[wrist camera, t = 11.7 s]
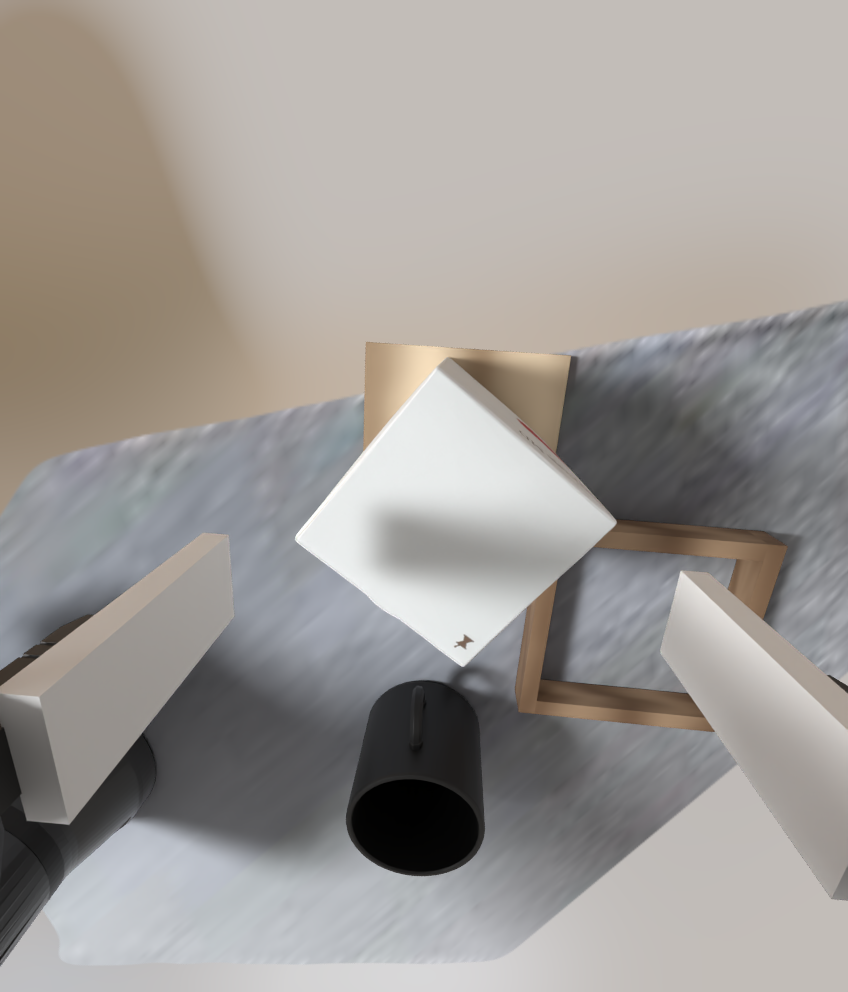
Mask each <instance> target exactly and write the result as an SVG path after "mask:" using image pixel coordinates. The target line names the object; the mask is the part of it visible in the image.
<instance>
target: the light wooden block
mask: <svg viewBox="0 0 848 992" xmlns="http://www.w3.org/2000/svg"><path fill="white" fill-rule="evenodd" d="M447 357H449V358H451V359H452V360H453V361H454V362H456V363H457V364H458V365H459V366H460V367H461V368H463V369H464V370H465V371H466V372H467V373H468V374H469V375H471V376H472V377H473V378H474V379H475V380H476V381H478V382H479V383H480V384H481V385H482V386H483V387H484V388H486V389H487V390H488V391H489V392H490V393H491V394H493V395H494V396H495V397H496V398H497V399H498V400H500V401H501V402H502V403H503V404H504V405H505V406H507V407H508V408H509V409H510V410H511V411H512V412H513V413H514V414H516V415H517V416H518V417H519V418H520V419H521V420H522V421H523V422H524V423H526V424H527V425H528V426H529V427H530V428H531V429H532V430H533V431H534V432H535V433H536V434H537V435H538V436H540V437H541V438H542V439H543V440H544V441H545V442H546V443H547V445H548V446H549V447H550V448H551V449H552V450H553V451H554V452H555V453H556V449H557V443H558V436H559V430H560V424H561V417H562V411H563V404H564V398H565V392H566V385H567V379H568V372H569V366H570V360H571V356H569V355H554V354H539V353H524V352H508V351H494V350H478V349H463V348H448V347H433V346H417V345H402V344H388V343H373V342H366V358H365V402H364V448H363V452H364V450H365V449H366V448H367V447H368V445H369V444H370V443H371V442H372V441H373V439H374V438H375V437H376V436H377V435H378V433H379V432H380V431H381V430H382V429H383V427H384V426H385V425H386V424H387V423H388V421H389V420H390V419H391V418H392V417H393V415H394V414H395V413H396V412H397V411H398V410H399V408H400V407H401V406H402V405H403V404H404V403H405V402H406V400H407V399H408V398H409V397H410V396H411V395H412V393H413V392H414V391H415V390H416V389H417V388H418V387H419V385H420V384H421V383H422V382H423V381H424V380H425V379H426V378H427V376H428V375H429V374H430V373H431V372H432V371H433V370H434V369H435V368H436V366H438V365H439V364H440V363H441V362H442V361H443V360H444V359H445V358H447Z"/></svg>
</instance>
